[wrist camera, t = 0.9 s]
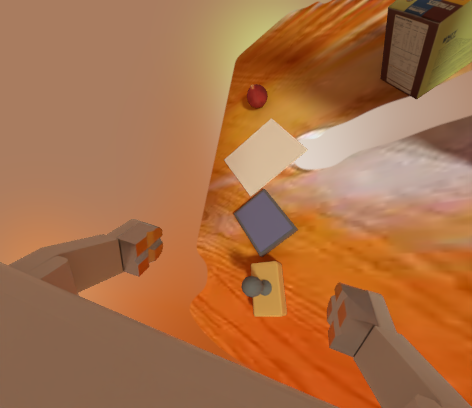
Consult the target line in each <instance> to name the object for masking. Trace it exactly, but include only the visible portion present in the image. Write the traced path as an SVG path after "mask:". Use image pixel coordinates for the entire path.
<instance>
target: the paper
mask: <svg viewBox="0 0 472 408" xmlns="http://www.w3.org/2000/svg"><path fill="white" fill-rule="evenodd" d="M306 151H307V149H306V148H305V147H304V146H303V145H301V143H300V142H298V141H297V140H296V139H295V138H294V137H293V136H291V135H290V134H289V133H288V132H287V131H286V130H284V129H283V128H282V127H281V126H280V125H279V124H277V123H276V122H275V121H274V120H273V119H272V118H271V119H270V120H269V121H268V122H267V123H266V124H265V125H263V126H262V127H261V128H260V129H259V130H258V131H257V132H255V133H254V134H253V135H252V136H251V137H250V138H249V139H247V140H246V141H245V142H244V143H243V144H242V145H241V146H239V147H238V148H237V149H236V150H235V151H234V152H233V153H231V154H230V155H229V156H228V157H227V158H226V159H224V161H225V162H226V164H227V165H228V166H229V168H230V169H231V170H232V172H233V173H234V174H235V176H236V177H237V179H238V180H239V181H240V183H241V184H242V185H243V187H244V188H245V189H246V191H247V192H248V194H249V195H250V196H252V195H253V194H255V193H256V192H257V191H258V190H260V189H261V188H262V187H263V186H264V185H266V184H267V183H268V182H269V181H271V180H272V179H273V178H274V177H275V176H277V175H278V174H279V173H280V172H282V171H283V170H284V169H285V168H286V167H288V166H289V165H290V164H291V163H293V162H294V161H295V160H296V159H297V158H299V157H300V156H301V155H302V154H303V153H305V152H306Z"/></svg>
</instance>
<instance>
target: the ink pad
mask: <svg viewBox="0 0 472 408" xmlns="http://www.w3.org/2000/svg"><path fill="white" fill-rule="evenodd" d="M234 215H235V217H236V218H237V220H238V222H239V223H240V225H241V226H242V228H243V230H244V231H245V233H246V234H247V236H248V238H249V239H250V241H251V242H252V244H253V246H254V247H255V249H256V250H257V252H258V254H259V255H260V256H261V257H263V256H264V255H266V254H267V253H268V252H270V251H271V250H272V249H274V248H275V247H276V246H278V245H279V244H280V243H281V242H283V241H284V240H285V239H287V238H288V237H289V236H291V235H292V234H293V233H295V232H296V231H297V230H298V229H297V228H296V227H295V226H294V224H293V223H292V222H291V221H290V219H289V218H288V217H287V216H286V214H285V213H284V212H283V211H282V210H281V208H280V207H279V206H278V205H277V203H276V202H275V201H274V200H273V198H272V197H271V196H270V195H269V193H268V192H267V191H266V190H265V189H263V190H262V191H261V192H260V193H258V194H257V195H256V196H255V197H254V198H252V199H251V200H250V201H249V202H247V203H246V204H245V205H244V206H242V207H241V208H240V209H239V210H238V211H236V212H235V213H234Z"/></svg>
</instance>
